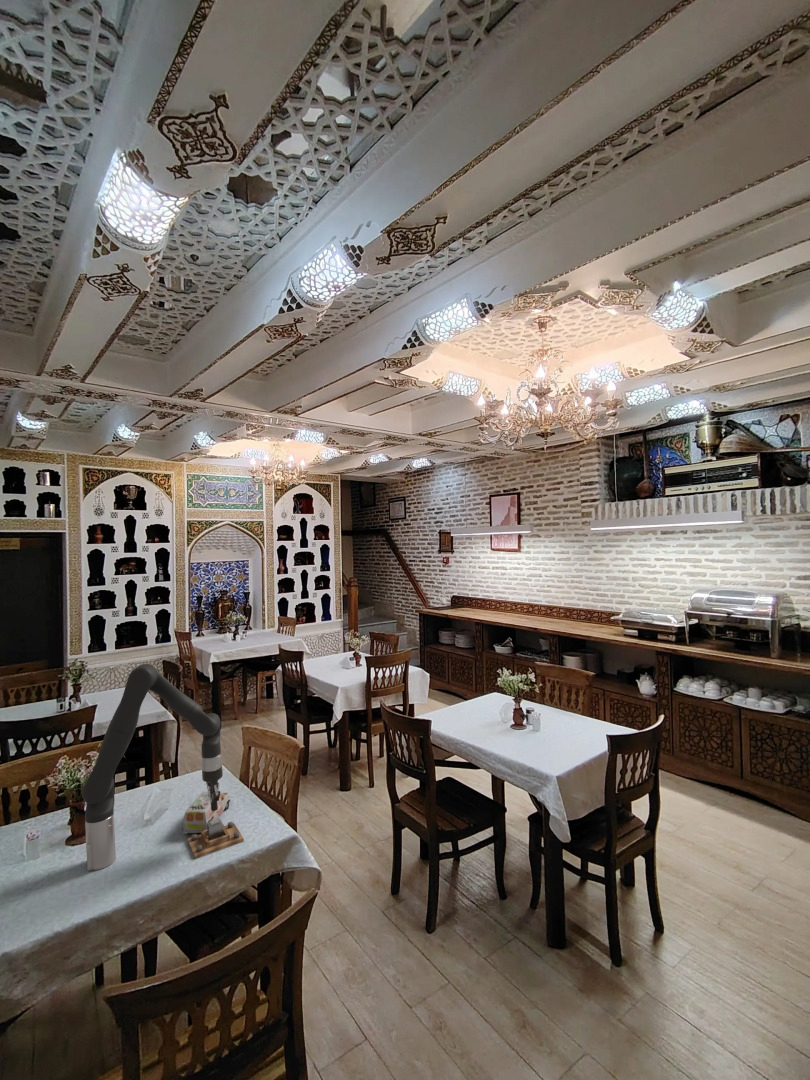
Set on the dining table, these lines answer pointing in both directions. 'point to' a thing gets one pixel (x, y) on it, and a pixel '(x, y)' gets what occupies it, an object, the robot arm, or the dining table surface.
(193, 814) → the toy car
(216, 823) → the block
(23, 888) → the dining table surface
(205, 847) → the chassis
